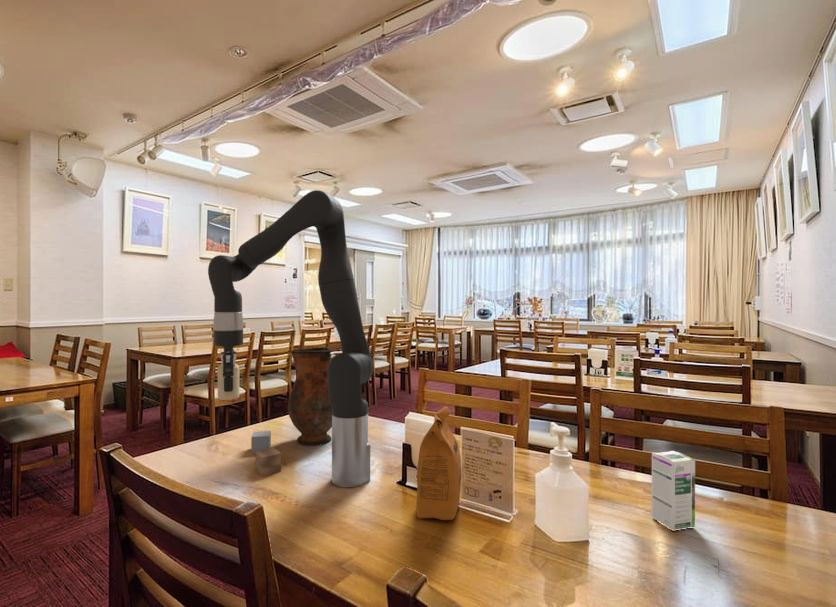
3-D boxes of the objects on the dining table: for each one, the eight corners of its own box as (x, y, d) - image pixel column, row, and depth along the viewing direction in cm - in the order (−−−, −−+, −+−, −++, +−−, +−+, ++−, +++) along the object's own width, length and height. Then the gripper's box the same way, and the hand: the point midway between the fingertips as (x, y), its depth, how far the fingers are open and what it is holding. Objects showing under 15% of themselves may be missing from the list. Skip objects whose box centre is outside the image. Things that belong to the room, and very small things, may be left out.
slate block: (270, 446, 132) (270, 430, 132) (268, 452, 127) (268, 435, 127) (253, 447, 131) (253, 431, 131) (251, 453, 126) (251, 436, 126)
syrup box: (673, 533, 86) (674, 462, 85) (650, 518, 91) (651, 451, 91) (695, 529, 87) (696, 459, 87) (671, 514, 93) (672, 449, 92)
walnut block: (274, 465, 118) (274, 447, 117) (280, 471, 114) (280, 453, 114) (255, 470, 114) (256, 451, 114) (262, 476, 111) (262, 457, 110)
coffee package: (466, 499, 99) (467, 406, 98) (455, 527, 87) (456, 421, 86) (426, 493, 102) (426, 402, 101) (409, 519, 90) (410, 417, 89)
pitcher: (303, 430, 148) (303, 345, 147) (360, 435, 143) (360, 347, 142) (276, 446, 132) (276, 351, 131) (339, 453, 127) (340, 354, 126)
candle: (243, 395, 119) (243, 360, 119) (232, 400, 114) (232, 363, 114) (224, 395, 120) (224, 360, 120) (213, 399, 115) (213, 363, 114)
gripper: (243, 329, 112) (243, 393, 112) (242, 326, 125) (243, 383, 125) (211, 330, 109) (212, 396, 109) (214, 326, 122) (215, 385, 122)
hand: (228, 388), depth 117 cm, fingers closed on candle, 5 cm apart
